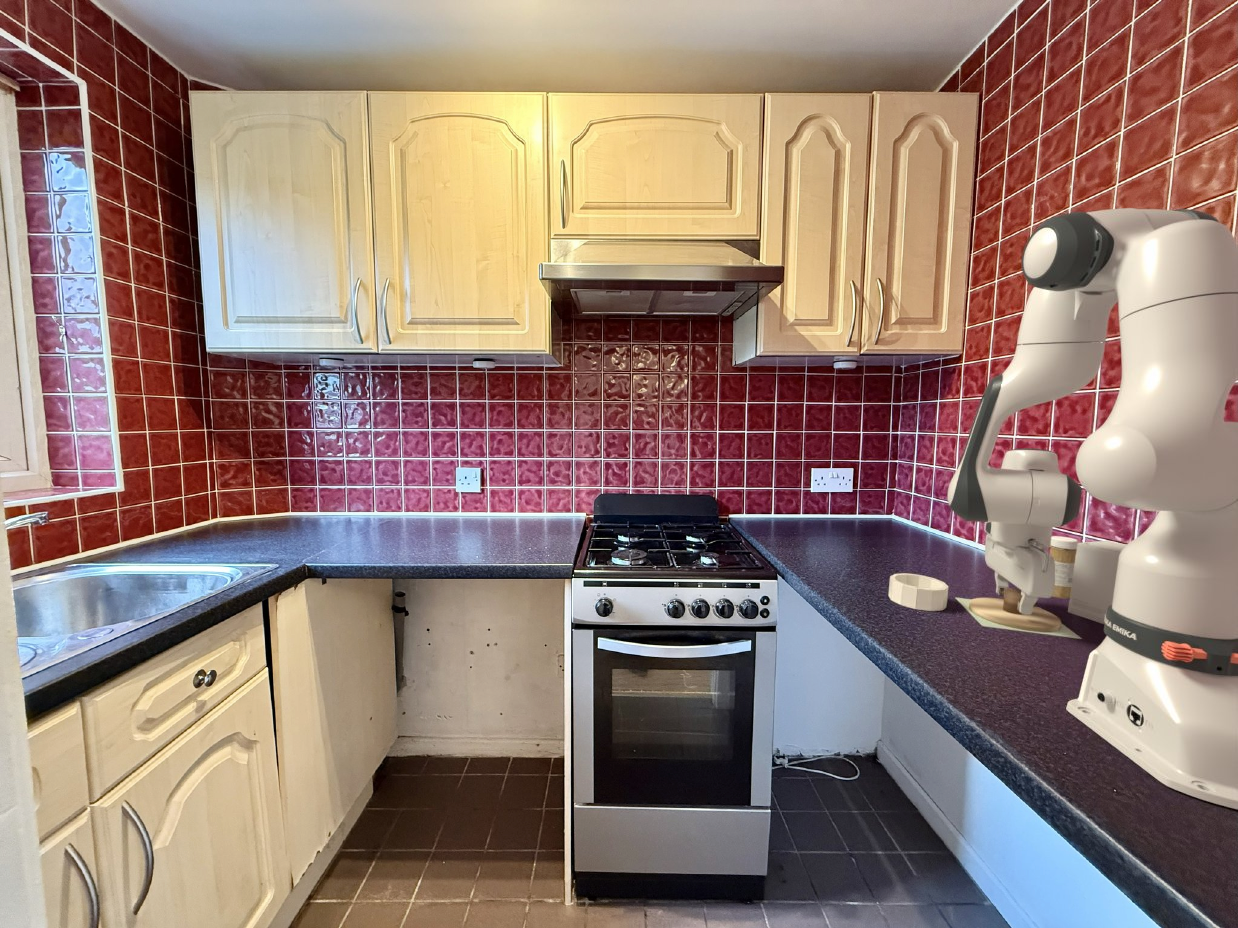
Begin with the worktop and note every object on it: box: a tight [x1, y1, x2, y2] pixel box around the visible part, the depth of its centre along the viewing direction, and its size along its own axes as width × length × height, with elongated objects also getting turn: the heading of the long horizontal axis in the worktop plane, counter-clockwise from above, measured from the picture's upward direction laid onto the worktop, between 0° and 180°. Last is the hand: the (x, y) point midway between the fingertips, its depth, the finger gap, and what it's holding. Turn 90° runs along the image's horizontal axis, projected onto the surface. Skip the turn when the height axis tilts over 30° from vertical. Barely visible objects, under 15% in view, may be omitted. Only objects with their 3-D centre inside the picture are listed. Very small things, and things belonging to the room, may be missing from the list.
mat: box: [955, 597, 1083, 640], centre depth 98 cm, size 15×15×1 cm
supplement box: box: [1067, 540, 1127, 625], centre depth 98 cm, size 9×9×15 cm
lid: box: [969, 587, 1062, 632], centre depth 98 cm, size 14×14×5 cm
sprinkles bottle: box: [1049, 535, 1079, 600], centre depth 110 cm, size 5×5×13 cm
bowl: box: [888, 572, 949, 612], centre depth 105 cm, size 10×10×5 cm
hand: (1012, 603), depth 98 cm, fingers open, 8 cm apart
